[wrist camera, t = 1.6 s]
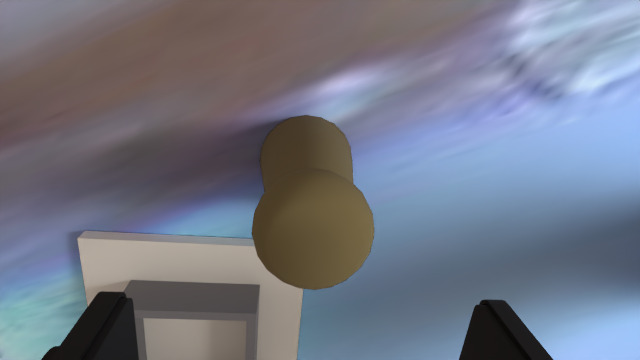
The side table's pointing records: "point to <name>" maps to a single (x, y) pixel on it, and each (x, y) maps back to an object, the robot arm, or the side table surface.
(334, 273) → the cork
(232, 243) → the beige square socket base
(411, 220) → the side table surface
